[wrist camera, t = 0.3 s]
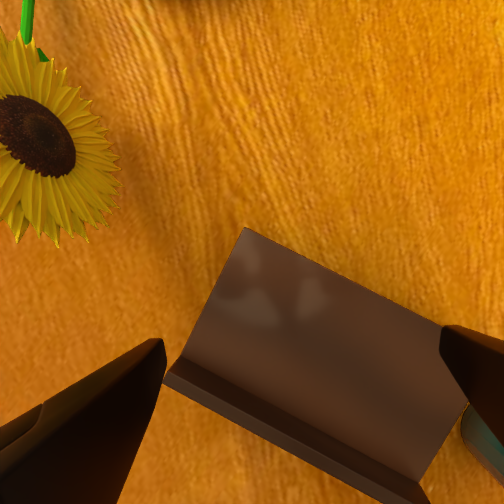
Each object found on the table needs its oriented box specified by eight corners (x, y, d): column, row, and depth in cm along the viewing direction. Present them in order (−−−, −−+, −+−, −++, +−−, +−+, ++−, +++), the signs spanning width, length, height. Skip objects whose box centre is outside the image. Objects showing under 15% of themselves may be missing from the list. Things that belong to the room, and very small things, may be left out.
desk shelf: (389, 451, 24) (432, 531, 17) (190, 345, 25) (161, 383, 18) (458, 334, 23) (531, 371, 16) (248, 228, 24) (240, 224, 17)
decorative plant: (-95, -208, 18) (-274, 221, 10) (-36, -270, 16) (-195, 182, 8) (95, 19, 31) (81, 275, 24) (137, -3, 30) (137, 263, 22)
